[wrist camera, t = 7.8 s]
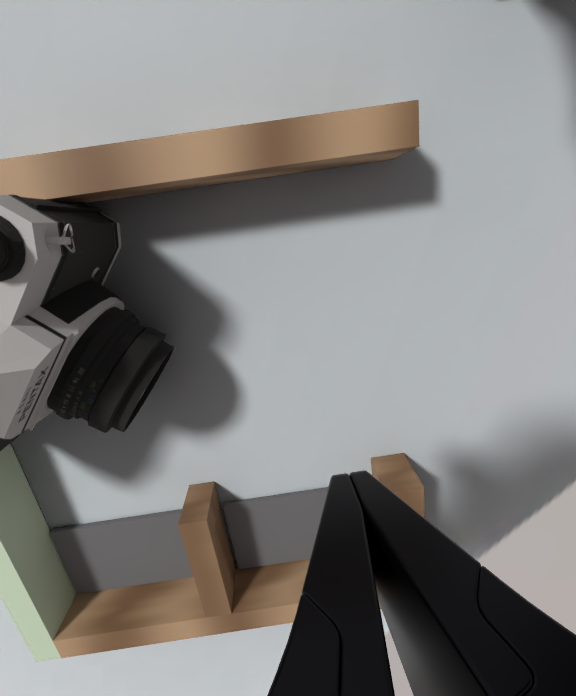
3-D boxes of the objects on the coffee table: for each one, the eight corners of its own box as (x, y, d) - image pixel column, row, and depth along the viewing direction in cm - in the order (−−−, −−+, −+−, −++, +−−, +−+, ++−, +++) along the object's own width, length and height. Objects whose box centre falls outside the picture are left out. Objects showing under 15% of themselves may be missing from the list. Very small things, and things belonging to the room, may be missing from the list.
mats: (368, 480, 22) (369, 484, 22) (373, 544, 24) (374, 548, 24) (52, 528, 22) (49, 532, 22) (79, 589, 24) (77, 594, 24)
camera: (116, 467, 21) (28, 618, 13) (-25, 413, 20) (-238, 545, 11) (216, 267, 19) (190, 285, 10) (65, 186, 17) (-118, 126, 9)
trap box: (391, 121, 16) (418, 100, 13) (407, 558, 25) (425, 601, 22) (-139, 197, 16) (-226, 191, 13) (62, 611, 25) (36, 662, 22)
